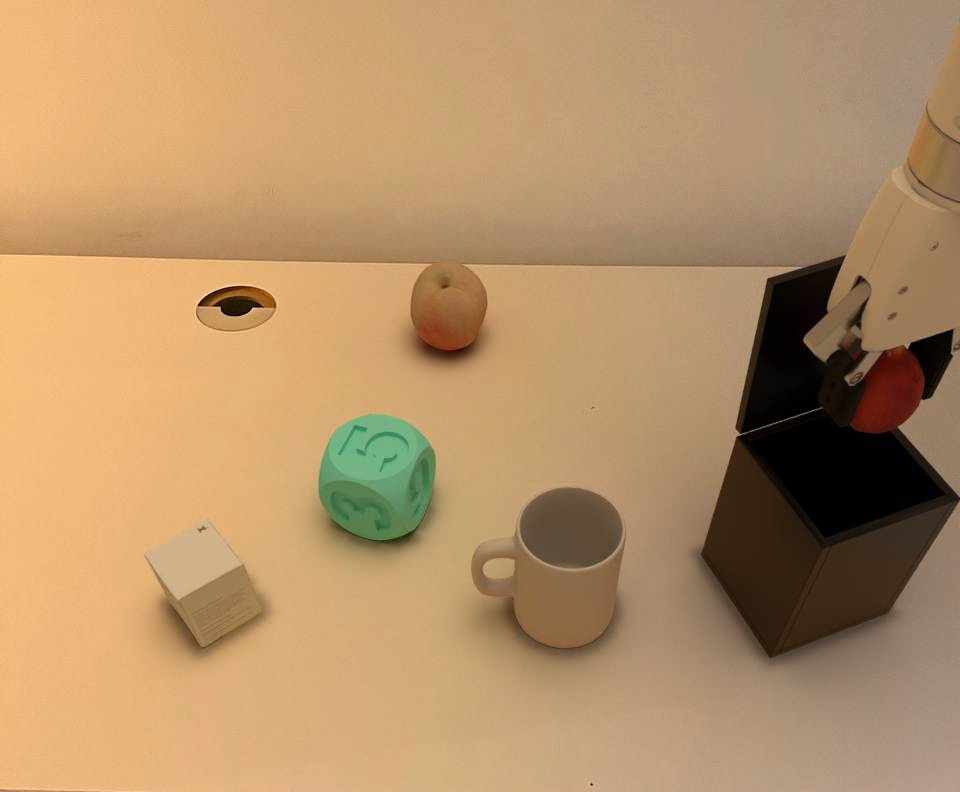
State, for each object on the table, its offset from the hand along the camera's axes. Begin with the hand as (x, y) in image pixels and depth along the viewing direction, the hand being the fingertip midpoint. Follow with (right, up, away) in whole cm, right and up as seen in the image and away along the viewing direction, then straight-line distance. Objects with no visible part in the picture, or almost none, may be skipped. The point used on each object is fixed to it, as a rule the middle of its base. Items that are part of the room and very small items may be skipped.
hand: (873, 398), depth 65 cm
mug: (-22, -14, +15) cm, 30 cm away
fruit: (-31, +15, +33) cm, 48 cm away
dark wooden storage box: (0, -12, +16) cm, 20 cm away
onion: (0, -2, +3) cm, 3 cm away
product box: (-50, -14, +16) cm, 55 cm away
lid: (-3, +4, 0) cm, 5 cm away
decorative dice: (-37, -5, +21) cm, 43 cm away
